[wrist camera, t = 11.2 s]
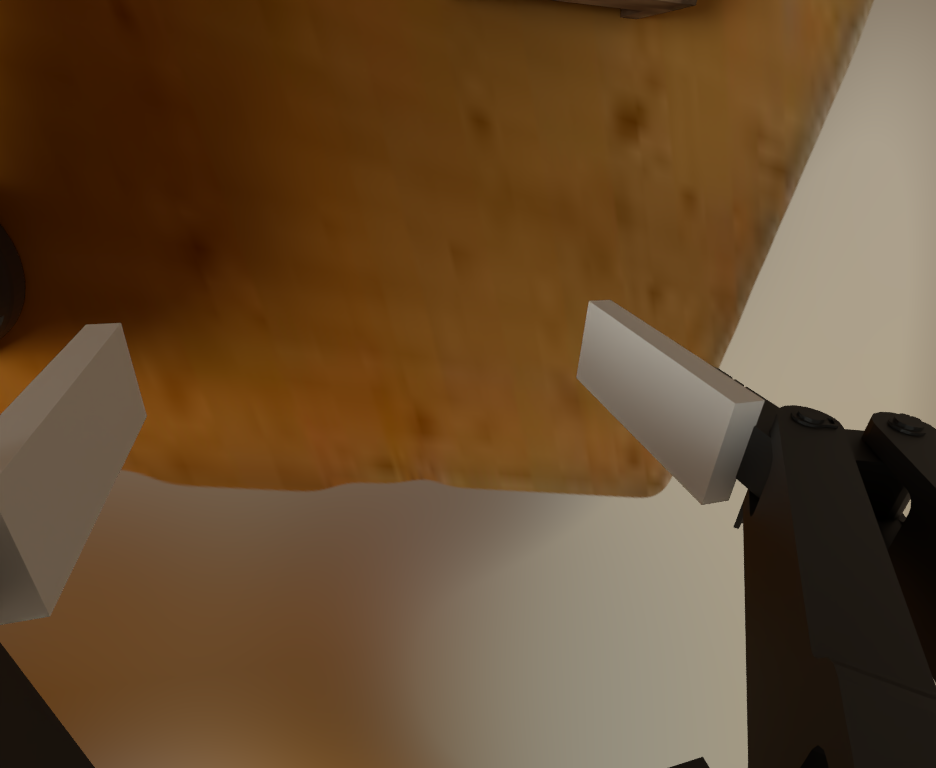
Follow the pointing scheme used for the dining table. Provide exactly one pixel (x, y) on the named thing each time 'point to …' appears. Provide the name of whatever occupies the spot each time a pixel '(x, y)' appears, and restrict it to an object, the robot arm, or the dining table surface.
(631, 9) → the shelf
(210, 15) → the dining table surface
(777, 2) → the dining table surface
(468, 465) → the dining table surface
